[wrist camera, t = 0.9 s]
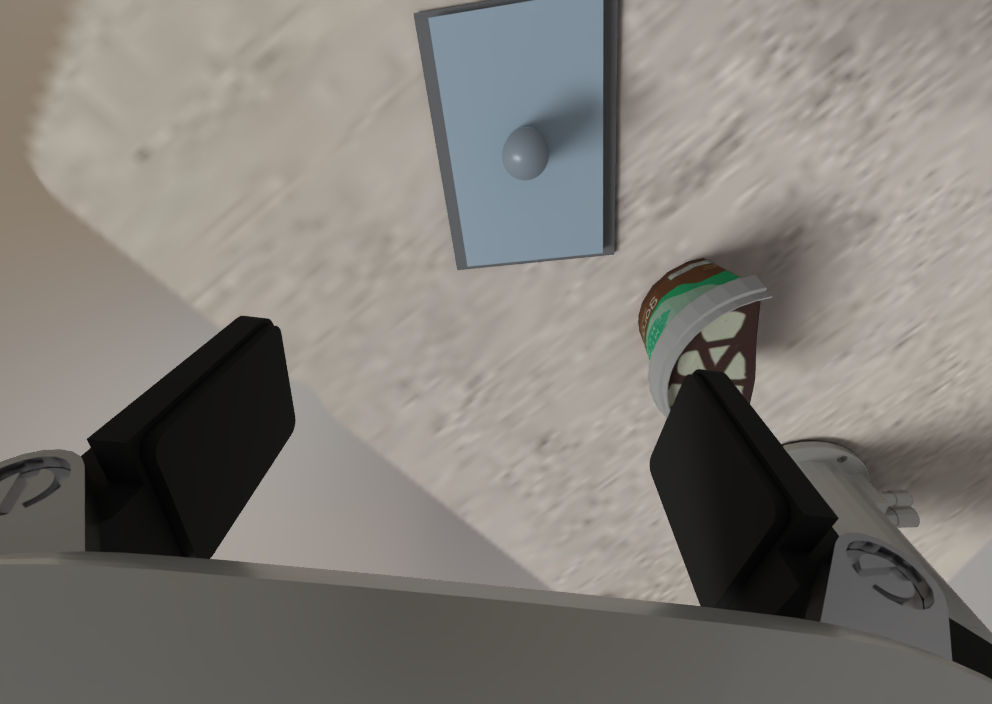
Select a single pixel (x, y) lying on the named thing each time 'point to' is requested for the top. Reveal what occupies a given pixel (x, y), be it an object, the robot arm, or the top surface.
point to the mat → (441, 137)
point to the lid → (525, 127)
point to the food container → (700, 328)
